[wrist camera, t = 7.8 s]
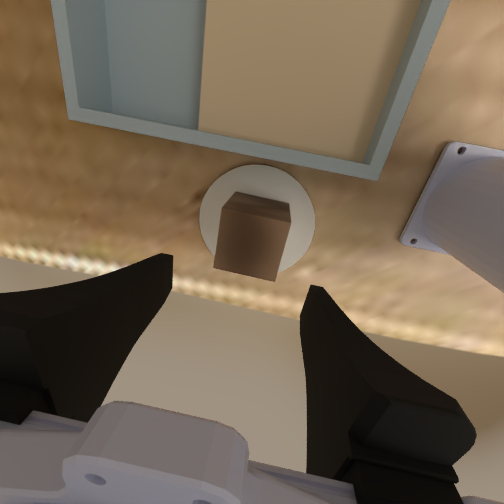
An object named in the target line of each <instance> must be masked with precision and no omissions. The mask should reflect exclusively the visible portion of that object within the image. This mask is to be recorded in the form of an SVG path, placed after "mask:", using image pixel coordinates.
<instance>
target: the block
mask: <svg viewBox="0 0 504 504" xmlns="http://www.w3.org/2000/svg"><path fill="white" fill-rule="evenodd" d="M290 226H291V215H290V205H289V203H286V202H282V201H277V200H273V199H268V198H264V197H259V196H255V195H250V194H245V193H241V192H236V191H235V192H234V194H233V195H232V196H231V197H230V198H229V200H228V201H227V202H226V203H225V204H224V205H223V207H222V209H221V216H220V223H219V230H218V238H217V245H216V252H215V259H214V267H213V268H216V269H220V270H225V271H229V272H233V273H238V274H242V275H247V276H251V277H256V278H260V279H264V280H269V281H273V282H275V279H276V276H277V272H278V269H279V265H280V262H281V258H282V255H283V251H284V248H285V244H286V241H287V237H288V233H289V230H290Z"/></svg>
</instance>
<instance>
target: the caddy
mask: <svg viewBox="0 0 504 504" xmlns="http://www.w3.org/2000/svg"><path fill="white" fill-rule="evenodd" d="M449 3H450V0H51V5H52V12H53V19H54V25H55V32H56V39H57V46H58V52H59V59H60V66H61V72H62V79H63V86H64V92H65V99H66V106H67V113H68V119H70V120H75V121H80V122H85V123H90V124H95V125H100V126H105V127H110V128H115V129H120V130H125V131H130V132H135V133H140V134H145V135H149V136H154V137H159V138H164V139H169V140H174V141H179V142H184V143H189V144H194V145H199V146H204V147H209V148H214V149H219V150H224V151H229V152H234V153H239V154H244V155H249V156H254V157H259V158H264V159H269V160H274V161H279V162H284V163H289V164H294V165H299V166H304V167H309V168H314V169H319V170H324V171H329V172H334V173H339V174H344V175H349V176H354V177H359V178H364V179H369V180H374V181H378V179H379V176H380V174H381V171H382V169H383V166H384V164H385V161H386V159H387V156H388V154H389V151H390V149H391V146H392V144H393V141H394V139H395V137H396V134H397V132H398V129H399V127H400V124H401V122H402V119H403V117H404V114H405V112H406V109H407V107H408V104H409V102H410V99H411V97H412V94H413V92H414V89H415V87H416V85H417V82H418V80H419V77H420V75H421V72H422V70H423V67H424V65H425V62H426V60H427V57H428V55H429V52H430V50H431V47H432V45H433V42H434V40H435V37H436V35H437V32H438V30H439V28H440V25H441V23H442V20H443V18H444V15H445V13H446V10H447V8H448V5H449Z"/></svg>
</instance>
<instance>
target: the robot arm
mask: <svg viewBox="0 0 504 504" xmlns="http://www.w3.org/2000/svg"><path fill="white" fill-rule="evenodd" d="M460 147H462V152H461V153H459V154H458V153H457V152H458V149H459V148H460ZM414 238H415V240H414V242H410V241H411V240H412V239H414ZM399 241H400V242H401V243H402V244H403V245H406V246H410V247H415V248H420V249H425V250H430V251H435V252H439V253H444V254H449V255H451V256H453V257H454V258H456V259H457V260H458V261H460V262H461V263H463V264H464V265H465V266H467V267H468V268H470V269H471V270H472V271H474V272H475V273H477V274H478V275H479V276H481V277H482V278H484V279H485V280H486V281H488V282H489V283H491V284H492V285H493V286H495V287H496V288H498V289H499V290H501V291H502V292H503V293H504V150H499V149H494V148H489V147H484V146H479V145H474V144H468V143H463V142H458V141H452V142H450V143H448V144H447V145H446V146H445V147H444V149H443V151H442V153H441V155H440V157H439V159H438V161H437V163H436V166H435V168H434V170H433V172H432V174H431V176H430V178H429V180H428V182H427V184H426V186H425V188H424V190H423V192H422V194H421V196H420V198H419V200H418V202H417V204H416V206H415V208H414V210H413V212H412V214H411V216H410V218H409V220H408V222H407V224H406V226H405V228H404V230H403V232H402V234H401V236H400V239H399ZM172 278H173V255H169V254H164V253H160V254H157V255H154V256H152V257H149V258H147V259H145V260H142V261H140V262H137V263H135V264H132V265H130V266H127V267H124V268H121V269H119V270H116V271H113V272H110V273H107V274H104V275H101V276H98V277H94V278H91V279H87V280H83V281H79V282H74V283H69V284H64V285H59V286H54V287H48V288H42V289H35V290H28V291H20V292H9V293H0V504H504V503H502V502H497V501H493V500H489V499H484V498H480V497H475V496H465V497H460V495H459V493H458V491H457V489H456V487H455V485H454V483H458V482H459V480H458V476H457V475H456V472H455V470H454V469H453V467H452V465H453V464H454V463H455V462H456V461H458V460H459V459H460V458H461V457H462V456H463V455H464V454H466V453H467V451H469V450H470V449H471V447H472V446H473V445H474V443H475V439H476V431H475V428H474V426H473V425H472V423H471V422H470V420H469V419H468V417H467V416H466V414H465V413H464V411H463V409H462V408H461V406H460V405H459V403H458V402H457V400H456V399H454V398H452V397H451V396H449V395H447V394H446V393H444V392H442V391H441V390H439V389H437V388H436V387H434V386H433V385H431V384H429V383H428V382H426V381H424V380H423V379H421V378H420V377H418V376H417V375H415V374H414V373H412V372H411V371H409V370H408V369H407V368H405V367H404V366H402V365H401V364H400V363H398V362H397V361H395V360H394V359H393V358H392V357H390V356H389V355H388V354H387V353H385V352H384V351H383V350H381V349H380V348H379V347H378V346H377V345H376V344H375V343H373V342H372V341H371V340H370V339H369V338H368V337H367V336H366V335H364V333H363V332H361V331H360V330H359V329H358V327H357V326H356V325H355V324H354V323H353V322H352V321H351V320H350V319H349V318H348V317H347V316H346V315H345V313H344V312H343V311H342V310H341V309H340V308H339V306H338V305H337V304H336V303H335V301H334V300H333V299H332V298H331V296H330V295H329V294H328V293H327V292H326V290H325V289H324V288H323V287H320V286H315V285H310V288H309V291H308V294H307V297H306V300H305V303H304V305H303V308H302V311H301V314H300V337H301V345H302V352H303V360H304V368H305V376H306V390H307V391H306V393H307V468H306V473H303V472H298V471H294V470H290V469H285V468H281V467H277V466H272V465H268V464H264V463H259V462H255V461H250V460H248V459H249V450H248V443H247V441H246V440H245V438H244V437H243V436H242V435H241V434H239V433H238V432H237V431H236V430H235V429H234V428H232V427H230V426H227V425H225V424H222V423H220V422H217V421H213V420H209V419H204V418H200V417H196V416H191V415H187V414H182V413H178V412H174V411H169V410H165V409H160V408H156V407H152V406H147V405H143V404H138V403H134V402H124V401H113V402H110V403H108V404H106V405H103V406H101V404H102V403H103V401H104V399H105V397H106V395H107V393H108V391H109V389H110V387H111V385H112V383H113V381H114V380H115V378H116V376H117V374H118V372H119V371H120V369H121V367H122V365H123V363H124V362H125V360H126V358H127V356H128V355H129V353H130V351H131V350H132V348H133V346H134V344H135V343H136V341H137V340H138V339H139V337H140V336H141V334H142V333H143V332H144V330H145V329H146V327H147V326H148V325H149V323H150V322H151V320H152V319H153V318H154V317H155V315H156V314H157V312H158V311H159V310H160V308H161V307H162V305H163V304H164V302H165V301H166V299H167V297H168V295H169V293H170V291H171V289H172ZM100 406H101V407H100Z"/></svg>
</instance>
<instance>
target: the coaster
mask: <svg viewBox="0 0 504 504" xmlns="http://www.w3.org/2000/svg"><path fill="white" fill-rule="evenodd" d="M235 191H236V192H241V193H245V194H250V195H255V196H259V197H264V198H268V199H273V200H277V201H282V202H286V203H289V205H290V215H291V226H290V230H289V233H288V237H287V241H286V244H285V248H284V251H283V255H282V258H281V262H280V265H279V269H278V272H277V273H279V272H281V271H284V270H286V269H288V268H289V267H291V266H292V265H294V264H295V263H296V262H298V261H299V260H300V259H301V257H302V256H303V255H304V254H305V252H306V251H307V249H308V248H309V246H310V244H311V241H312V239H313V235H314V231H315V214H314V208H313V205H312V203H311V200H310V198H309V196H308V194H307V192H306V191H305V189H304V188H303V186H302V185H301V184H300V183H299V182H298V181H297V180H296V179H295V178H294V177H292V176H291V175H290V174H288V173H286V172H285V171H283V170H281V169H278V168H276V167H273V166H269V165H262V164H250V165H243V166H240V167H237V168H234V169H232V170H230V171H228V172H226V173H225V174H223V175H222V176H220V177H219V178H218V179H217V180H216V181H215V182H214V183H213V184H212V185H211V186H210V188H209V189H208V191H207V192H206V194H205V196H204V198H203V200H202V204H201V207H200V214H199V223H200V230H201V234H202V237H203V239H204V242H205V244H206V246H207V247H208V249H209V250H210V252H211V253H212V254H213V255H214V257H215V252H216V245H217V238H218V230H219V223H220V216H221V209H222V207H223V205H224V204H225V203H226V202H227V201H228V200H229V198H230V197H231V196H232V195H233V194H234V192H235Z"/></svg>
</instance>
